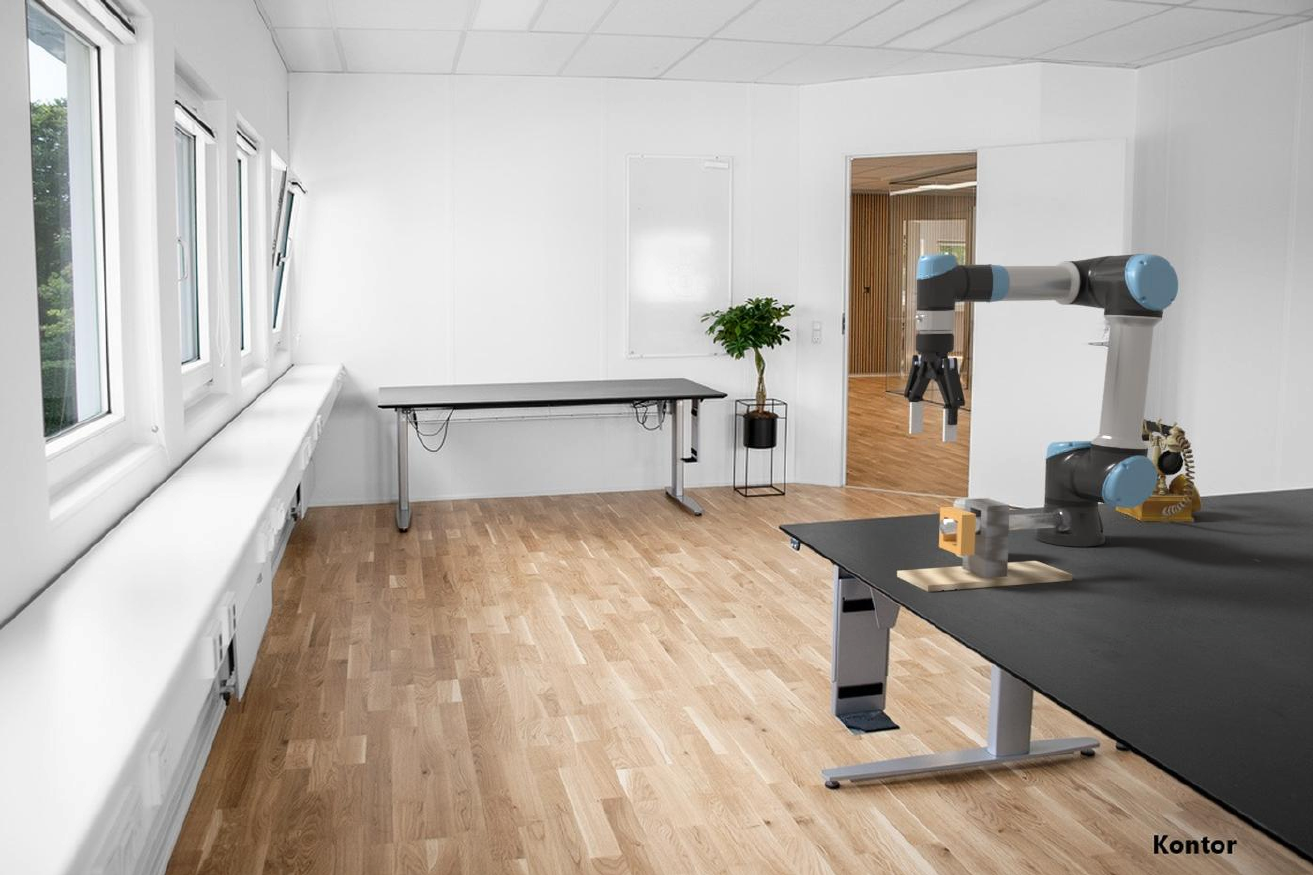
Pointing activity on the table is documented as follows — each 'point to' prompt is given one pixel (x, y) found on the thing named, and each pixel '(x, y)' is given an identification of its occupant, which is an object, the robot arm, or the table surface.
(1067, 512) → the shaft
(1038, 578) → the bearing fixture
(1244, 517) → the table surface
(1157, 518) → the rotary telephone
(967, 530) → the frame
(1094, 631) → the table surface
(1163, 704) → the table surface
